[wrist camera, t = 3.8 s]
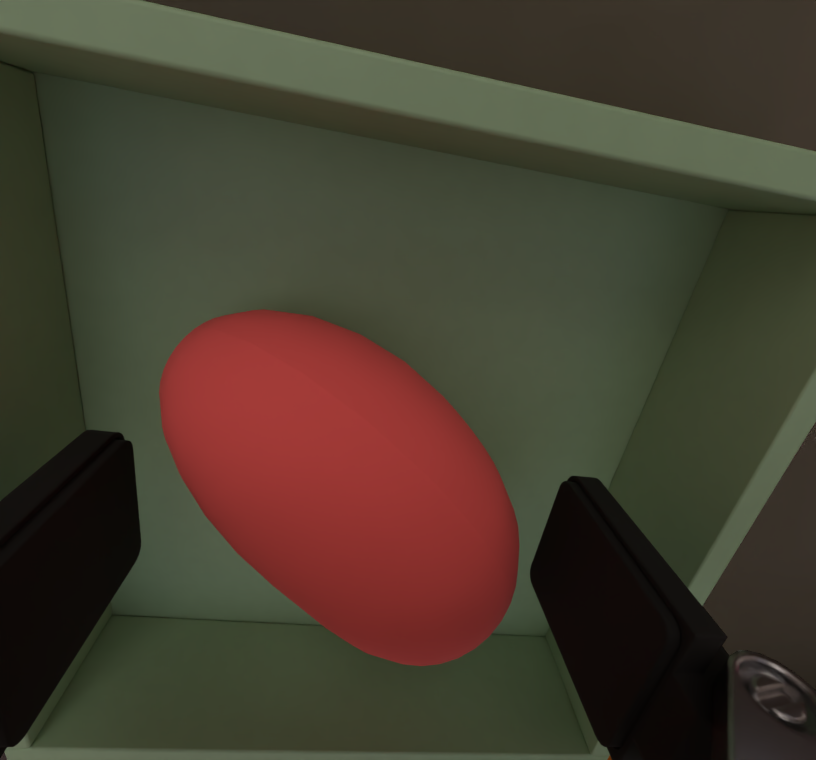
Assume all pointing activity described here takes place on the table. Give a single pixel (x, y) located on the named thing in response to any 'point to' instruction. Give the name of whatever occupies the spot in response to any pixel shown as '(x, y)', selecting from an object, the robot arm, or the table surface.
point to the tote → (390, 329)
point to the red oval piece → (343, 482)
